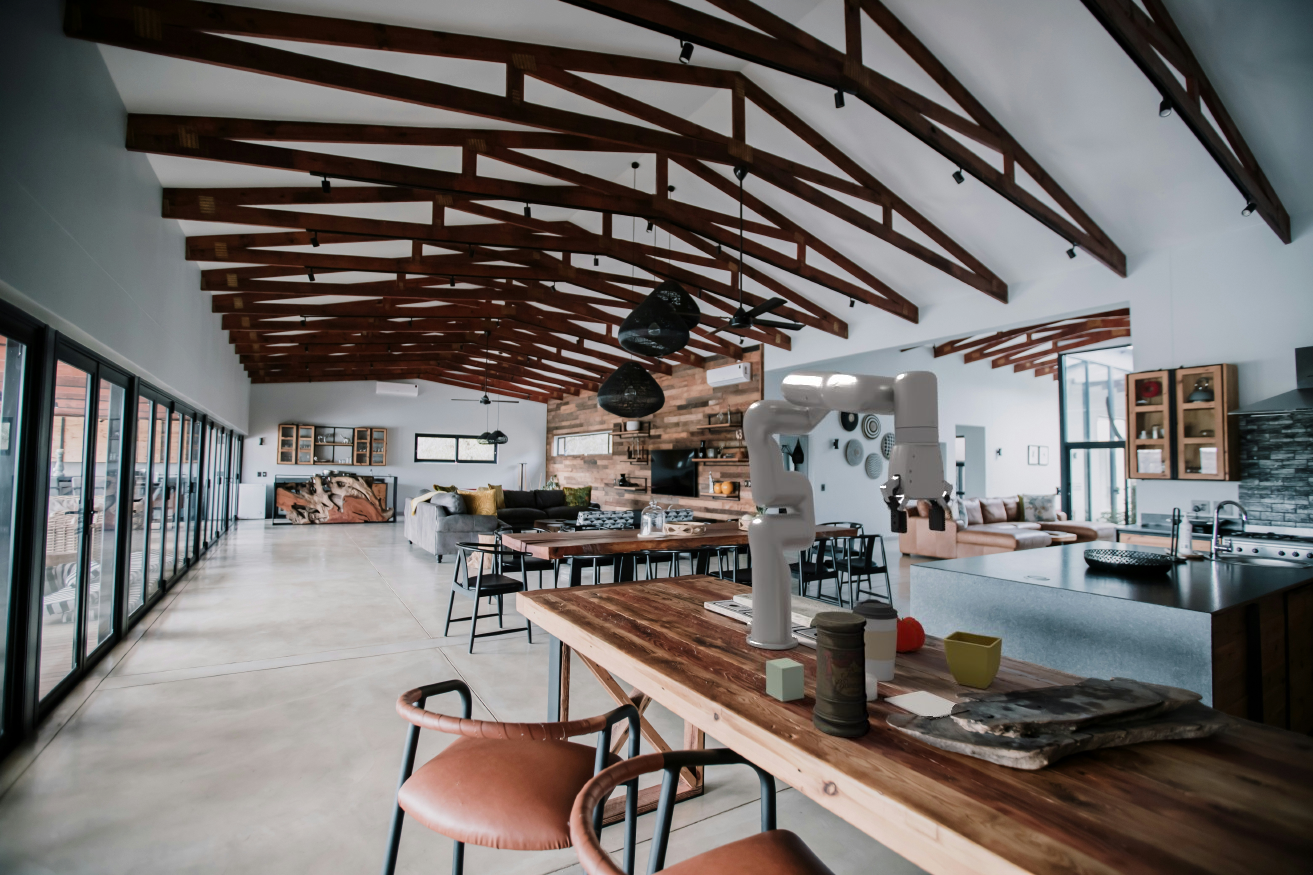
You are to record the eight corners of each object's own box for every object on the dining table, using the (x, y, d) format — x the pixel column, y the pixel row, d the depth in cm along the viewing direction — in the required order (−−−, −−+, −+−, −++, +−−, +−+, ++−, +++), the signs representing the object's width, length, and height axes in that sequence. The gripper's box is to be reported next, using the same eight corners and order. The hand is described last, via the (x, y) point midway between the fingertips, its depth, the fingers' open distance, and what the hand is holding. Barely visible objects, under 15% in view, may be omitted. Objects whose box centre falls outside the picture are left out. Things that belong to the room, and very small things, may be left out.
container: (802, 720, 103) (801, 612, 104) (844, 712, 107) (843, 608, 108) (837, 742, 95) (836, 624, 96) (882, 732, 99) (880, 619, 100)
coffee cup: (903, 684, 121) (901, 607, 122) (855, 681, 123) (854, 605, 124) (895, 670, 130) (893, 598, 131) (850, 667, 132) (849, 596, 133)
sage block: (766, 692, 116) (766, 660, 117) (787, 689, 119) (787, 657, 119) (782, 701, 112) (782, 668, 112) (804, 697, 114) (803, 664, 114)
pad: (884, 700, 113) (884, 698, 113) (923, 691, 117) (923, 690, 117) (929, 719, 104) (929, 718, 104) (969, 710, 108) (969, 708, 108)
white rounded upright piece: (837, 692, 117) (836, 674, 117) (860, 688, 119) (860, 669, 120) (860, 703, 111) (859, 683, 112) (884, 698, 114) (883, 679, 114)
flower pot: (943, 684, 121) (942, 638, 122) (957, 673, 128) (956, 630, 128) (992, 695, 115) (990, 646, 116) (1004, 683, 122) (1002, 637, 122)
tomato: (877, 650, 145) (876, 618, 145) (890, 642, 151) (890, 611, 152) (918, 658, 139) (917, 624, 139) (930, 649, 145) (929, 617, 146)
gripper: (932, 440, 120) (934, 528, 119) (866, 438, 112) (867, 531, 111) (966, 438, 113) (968, 531, 112) (898, 436, 106) (900, 535, 105)
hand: (918, 531), depth 112 cm, fingers open, 9 cm apart
